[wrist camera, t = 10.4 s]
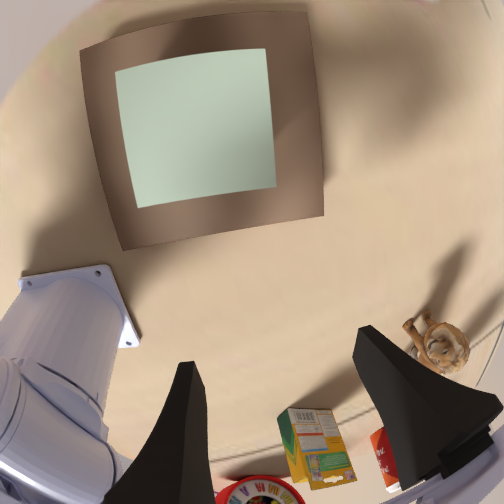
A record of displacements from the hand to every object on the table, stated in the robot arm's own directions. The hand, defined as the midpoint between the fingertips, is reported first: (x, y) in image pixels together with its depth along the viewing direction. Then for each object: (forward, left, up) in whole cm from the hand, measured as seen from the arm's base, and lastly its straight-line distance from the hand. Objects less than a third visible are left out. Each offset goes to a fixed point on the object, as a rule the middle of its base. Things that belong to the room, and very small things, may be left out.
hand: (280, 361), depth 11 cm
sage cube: (-2, +9, -7) cm, 12 cm away
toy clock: (-4, -55, -10) cm, 56 cm away
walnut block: (-2, +9, -10) cm, 14 cm away
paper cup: (+23, -45, -10) cm, 51 cm away
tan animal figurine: (+17, -14, -10) cm, 24 cm away
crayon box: (+5, -25, -10) cm, 27 cm away
